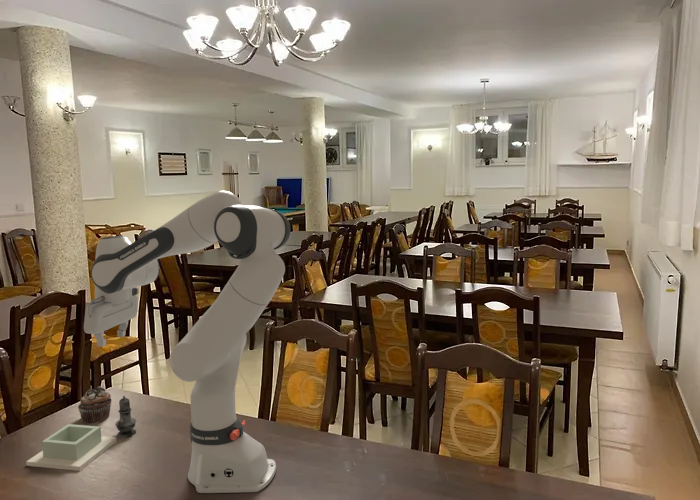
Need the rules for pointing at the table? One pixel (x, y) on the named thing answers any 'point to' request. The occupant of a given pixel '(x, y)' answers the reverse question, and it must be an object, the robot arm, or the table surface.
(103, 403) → the cupcake
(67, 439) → the stand
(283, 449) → the table surface
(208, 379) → the robot arm
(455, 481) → the table surface
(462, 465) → the table surface
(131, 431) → the dark chess piece
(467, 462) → the table surface
